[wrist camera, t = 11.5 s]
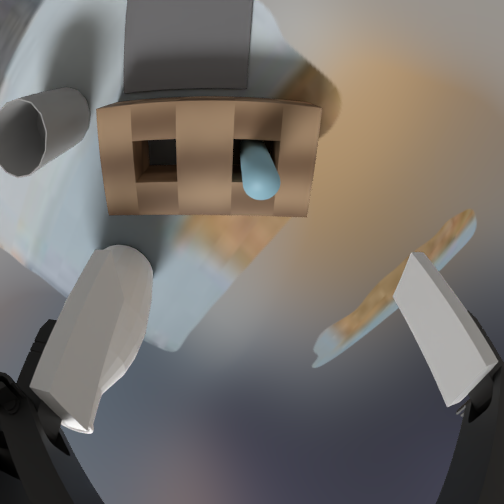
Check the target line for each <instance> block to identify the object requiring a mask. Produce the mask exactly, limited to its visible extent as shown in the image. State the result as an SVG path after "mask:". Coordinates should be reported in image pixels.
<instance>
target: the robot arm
mask: <svg viewBox="0 0 504 504" xmlns="http://www.w3.org/2000/svg"><path fill="white" fill-rule="evenodd" d="M393 298H394V300H395V301H396V303H397V305H398V307H399V309H400V310H401V312H402V314H403V316H404V318H405V320H406V322H407V323H408V325H409V327H410V329H411V331H412V333H413V335H414V337H415V339H416V341H417V343H418V345H419V346H420V349H421V351H422V353H423V355H424V357H425V359H426V361H427V363H428V365H429V367H430V369H431V371H432V374H433V376H434V378H435V380H436V382H437V385H438V387H439V389H440V392H441V394H442V396H443V399H444V401H445V403H446V406H447V407H448V406H451V405H453V404H456V403H459V402H460V401H461V400H462V399H463V398H464V397H465V396H467V395H469V397H470V399H469V400H468V401H467V402H466V403H465V404H464V405H462V406H461V407H460V408H459V409H458V410H457V413H456V414H459V413H460V412H461V411H462V410H464V409H465V411H464V412H463V413H462V414H461V416H462V417H463V420H462V425H461V429H460V433H459V437H458V441H457V444H456V448H455V451H454V455H453V458H452V461H451V465H450V467H449V471H448V474H447V476H446V479H445V482H444V485H443V487H442V490H441V492H440V495H439V498H438V500H437V502H436V504H504V362H503V361H502V359H501V357H500V356H499V354H498V352H497V350H496V349H495V347H494V345H493V344H492V342H491V340H490V339H489V337H488V336H486V332H485V331H484V329H482V326H481V325H480V323H479V322H478V320H477V319H476V318H475V317H474V316H473V315H472V314H471V313H470V312H469V311H467V310H466V309H465V307H464V306H463V304H462V303H461V302H460V300H459V299H458V297H457V296H456V295H455V293H454V292H453V290H452V289H451V287H450V286H449V285H448V284H447V282H446V281H445V279H444V278H443V277H442V276H441V274H440V273H439V271H438V270H437V269H436V268H435V266H434V265H433V264H432V262H431V261H430V260H429V259H428V257H427V256H426V255H425V254H424V253H423V252H411V254H410V257H409V259H408V262H407V264H406V267H405V269H404V272H403V274H402V277H401V279H400V281H399V284H398V286H397V288H396V290H395V293H394V295H393ZM123 302H124V296H123V292H122V289H121V285H120V282H119V278H118V275H117V271H116V267H115V263H114V259H113V255H112V251H111V250H95V251H94V253H93V254H92V256H91V258H90V259H89V261H88V263H87V265H86V266H85V268H84V270H83V272H82V273H81V275H80V277H79V279H78V281H77V282H76V284H75V286H74V288H73V290H72V292H71V294H70V296H69V298H68V299H67V301H66V303H65V305H64V307H63V309H62V311H61V313H60V315H59V318H58V320H51V319H49V320H48V321H47V322H46V323H45V324H44V325H43V326H42V327H41V328H40V330H39V332H38V334H37V336H36V338H35V343H33V345H32V347H31V349H30V350H31V352H29V354H28V356H27V358H26V361H25V363H24V365H23V368H22V370H21V373H20V375H19V378H18V381H17V383H15V382H14V381H13V379H12V378H11V377H10V376H9V375H7V374H6V373H2V372H0V504H104V502H103V501H102V499H101V498H100V496H99V495H98V493H97V492H96V490H95V488H94V487H93V485H92V484H91V482H90V480H89V479H88V477H87V476H86V474H85V472H84V470H83V469H82V467H81V465H80V463H79V462H78V460H77V458H76V456H75V454H74V453H73V450H72V448H71V446H70V445H69V442H68V440H67V438H66V436H65V434H64V432H63V431H62V429H61V428H60V425H61V421H63V422H64V423H65V424H67V425H68V426H69V427H72V428H76V429H80V430H84V431H88V426H89V422H90V417H91V413H92V408H93V404H94V400H95V396H96V392H97V388H98V384H99V380H100V376H101V373H102V369H103V365H104V362H105V358H106V355H107V352H108V348H109V345H110V342H111V338H112V335H113V332H114V329H115V326H116V323H117V320H118V317H119V314H120V311H121V308H122V305H123Z"/></svg>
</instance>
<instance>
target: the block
mask: <svg viewBox="0 0 504 504" xmlns="http://www.w3.org/2000/svg"><path fill="white" fill-rule="evenodd" d="M96 113H97V128H98V140H99V150H100V159H101V167H102V175H103V182H104V189H105V195H106V201H107V207H108V213H109V215H247V216H283V217H307V212H308V207H309V200H310V193H311V188H312V181H313V174H314V167H315V160H316V153H317V145H318V138H319V130H320V122H321V114H322V108H321V107H318V106H316V105H313V104H311V103H308V102H302V101H293V100H283V99H270V98H255V97H229V96H195V97H169V98H154V99H142V100H131V101H123V102H116V103H113V104H110V105H107V106H104V107H101V108H98V109H96ZM160 139H176V157H177V164H170V165H150V161H149V144H148V140H160ZM233 139H253V140H272V141H271V153H270V156H271V159H272V161H273V163H274V165H275V168H276V170H277V172H278V174H279V177H280V188H279V190H278V192H277V193H276V194H275V195H274V196H273V197H271V198H269V199H266V200H256V199H253V198H251V197H250V196H248V195H247V194H246V192H245V190H244V188H243V181H242V171H241V165H233V164H232V161H233Z"/></svg>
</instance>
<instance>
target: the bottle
mask: <svg viewBox="0 0 504 504" xmlns="http://www.w3.org/2000/svg"><path fill="white" fill-rule="evenodd" d="M104 250H111V251H112V255H113V259H114V263H115V267H116V271H117V275H118V278H119V282H120V285H121V289H122V292H123V296H124V302H123V305H122V308H121V311H120V314H119V317H118V320H117V323H116V326H115V329H114V332H113V335H112V338H111V342H110V345H109V348H108V352H107V355H106V358H105V362H104V365H103V369H102V373H101V376H100V380H99V384H98V388H97V392H96V396H95V400H94V404H93V408H92V413H91V417H90V422H89V426H88V431H84V430H80V429H76V428H72V427H69V426H68V425H67V424H65V423H64V422H63V421H61V424H62V425H63V426H65V427H67V428H69V429H72V430H74V431H77V432H81V433H86V434H90V433H92V432H93V430H94V427H93V422H94V418H95V415H96V412H97V408H98V405H99V401H100V398H101V395H102V394H103V393H104V392H105V391H106V390H107V389H108V388H110V387H111V386H112V385H113V384H114V383H115V382H116V381H117V380H119V379H120V378H121V377H122V376H123V375H124V374H125V372H126V371H127V369H128V368H129V366H130V365H131V363H132V362H133V360H134V359H135V357H136V354H137V352H138V350H139V348H140V346H141V343H142V341H143V339H144V336H145V333H146V328H147V322H148V317H149V312H150V306H151V300H152V285H153V270H152V267H151V265H150V262H149V261H148V260H147V259H146V257H145V256H144V255H143V254H142V253H140V252H139V251H138V250H136V249H134V248H132V247H129V246H125V245H113V246H109V247H107V248H105V249H104ZM71 292H72V291H71ZM70 294H71V293H70ZM69 296H70V295H69ZM69 296H68V298H69ZM68 298H67V299H68ZM66 301H67V300H66ZM65 303H66V302H65ZM64 305H65V304H64Z"/></svg>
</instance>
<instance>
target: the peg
mask: <svg viewBox="0 0 504 504" xmlns="http://www.w3.org/2000/svg"><path fill="white" fill-rule="evenodd" d="M239 151H240V161H241V171H242V181H243V188H244V190H245V192H246V194H247V195H248V196H250V197H251V198H253V199H256V200H266V199H269V198H271V197H273V196H274V195H275V194H276V193H277V192H278V190H279V188H280V177H279V174H278V172H277V170H276V168H275V165H274V163H273V161H272V159H271V156H270V154H269V152H268V150H267V148H266V145H265V143H264V141H263V140H253V139H242V140H241V142H240V144H239Z"/></svg>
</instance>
